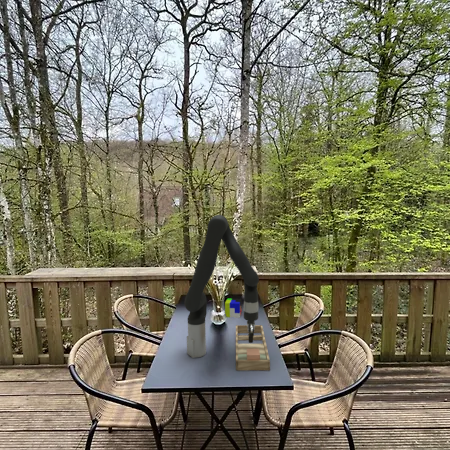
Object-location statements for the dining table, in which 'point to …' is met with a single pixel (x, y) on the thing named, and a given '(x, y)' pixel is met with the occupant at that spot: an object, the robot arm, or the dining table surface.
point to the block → (253, 354)
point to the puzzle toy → (233, 308)
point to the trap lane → (242, 348)
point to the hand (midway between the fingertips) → (250, 342)
